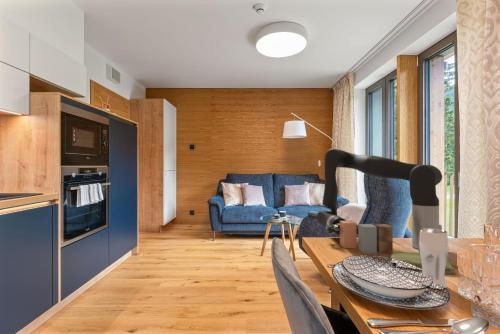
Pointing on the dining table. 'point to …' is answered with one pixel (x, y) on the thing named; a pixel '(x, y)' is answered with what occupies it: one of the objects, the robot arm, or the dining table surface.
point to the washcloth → (418, 260)
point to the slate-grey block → (367, 238)
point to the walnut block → (384, 238)
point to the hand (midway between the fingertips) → (349, 232)
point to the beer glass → (433, 253)
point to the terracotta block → (348, 234)
